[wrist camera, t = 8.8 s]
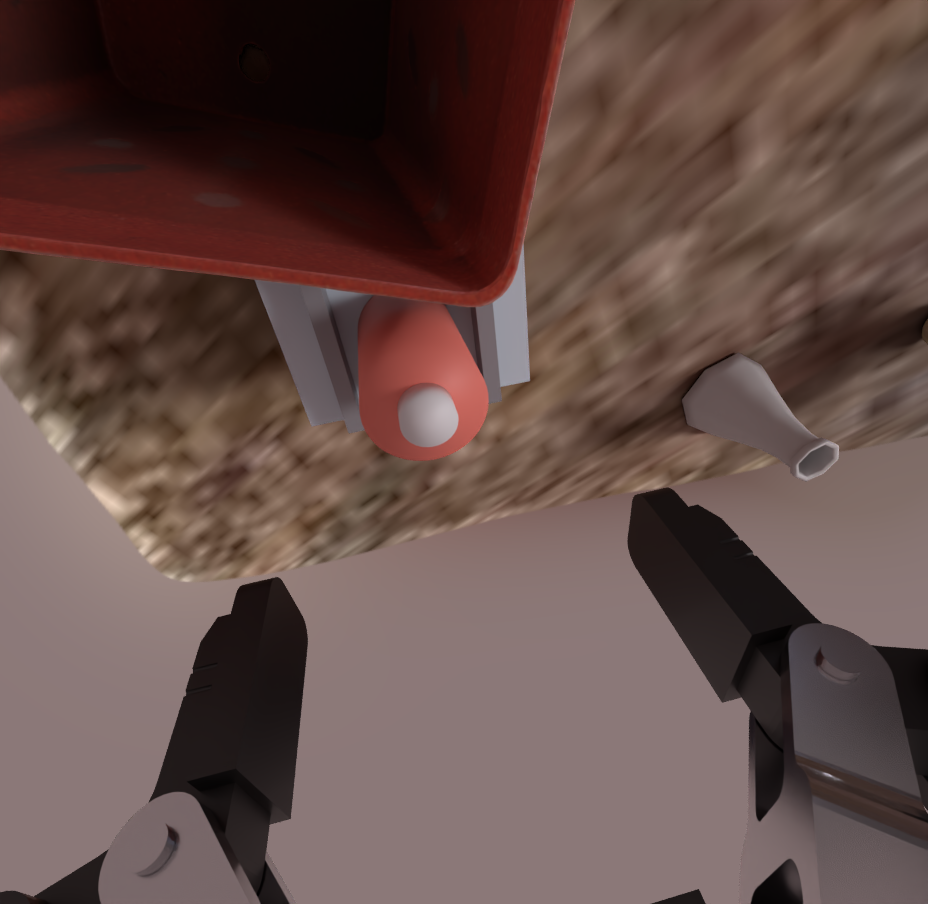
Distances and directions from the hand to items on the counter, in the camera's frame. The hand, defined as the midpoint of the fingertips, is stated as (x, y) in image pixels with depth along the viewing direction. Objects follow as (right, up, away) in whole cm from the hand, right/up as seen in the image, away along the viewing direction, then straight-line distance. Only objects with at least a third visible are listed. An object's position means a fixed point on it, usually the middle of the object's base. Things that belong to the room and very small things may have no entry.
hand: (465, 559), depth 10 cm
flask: (+22, +7, +28) cm, 37 cm away
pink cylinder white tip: (-3, +8, +12) cm, 15 cm away
